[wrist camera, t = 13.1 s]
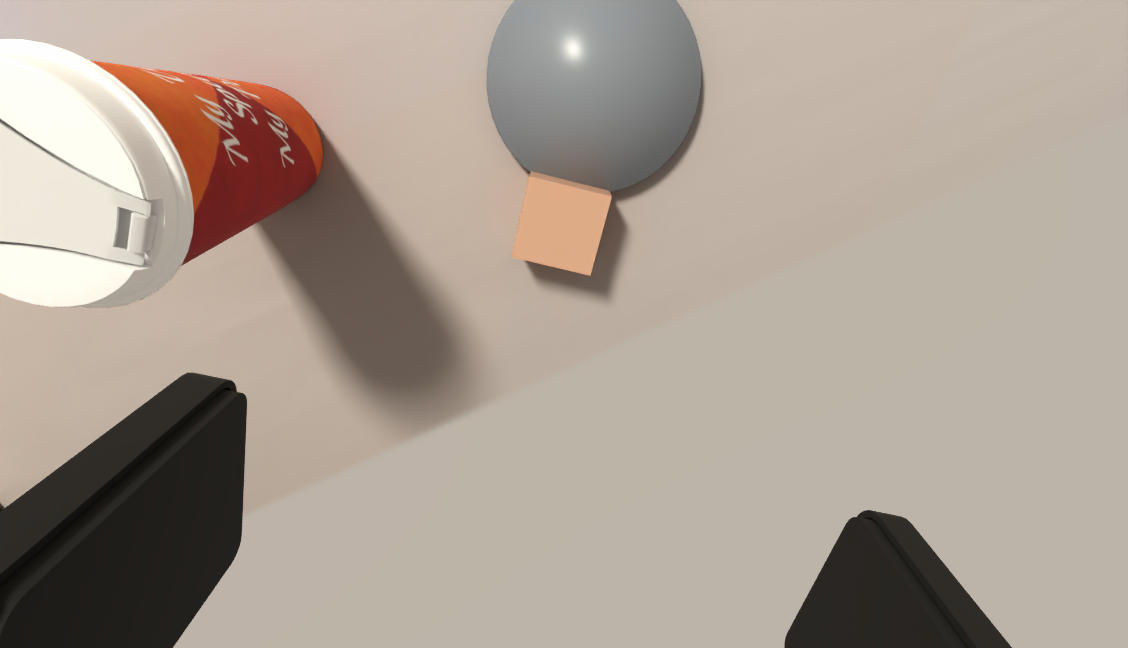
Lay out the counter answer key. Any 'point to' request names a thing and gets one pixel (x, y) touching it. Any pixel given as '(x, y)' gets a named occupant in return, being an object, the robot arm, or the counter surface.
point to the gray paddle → (588, 111)
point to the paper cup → (133, 172)
